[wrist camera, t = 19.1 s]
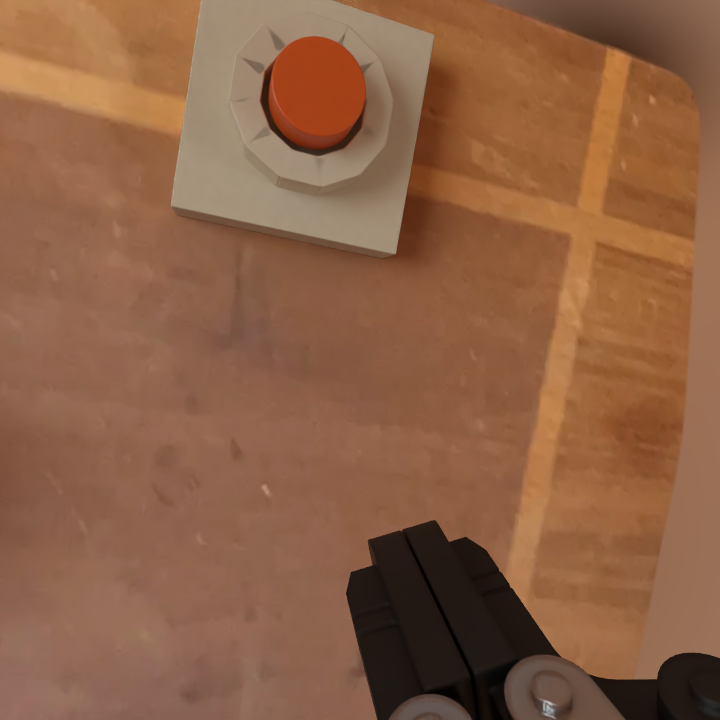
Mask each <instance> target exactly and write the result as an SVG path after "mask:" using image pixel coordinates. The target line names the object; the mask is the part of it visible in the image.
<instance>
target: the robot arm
mask: <svg viewBox="0 0 720 720" xmlns="http://www.w3.org/2000/svg"><path fill="white" fill-rule="evenodd" d="M368 545H369V550H370V555H371V560H372V565H373V566H370V567H366V568H363V569H360V570H357V571H353V572H351V575H350V579H349V583H348V587H347V592H346V596H347V600H348V604H349V608H350V612H351V617H352V621H353V625H354V629H355V633H356V638H357V642H358V646H359V650H360V654H361V658H362V662H363V666H364V670H365V673H366V677H367V681H368V685H369V689H370V693H371V697H372V701H373V704H374V708H375V712H376V716H377V720H720V658H717V657H714V656H711V655H707V654H701V653H682V654H678V655H675V656H673V657H670V658H669V659H668V660H666V661H665V662H664V663H663V664H662V666H661V667H660V670H659V672H658V677H657V680H656V679H649V680H615V679H605V678H599V677H596V676H592V675H589V674H587V673H586V672H585V671H584V670H583V669H581V668H580V667H579V666H577V665H576V664H574V663H572V662H571V661H568V660H566V659H564V658H562V657H561V656H560V655H559V654H558V653H557V652H556V651H555V649H554V648H553V647H552V645H551V644H550V642H549V641H548V640H547V638H546V637H545V635H544V634H543V632H542V631H541V629H540V628H539V626H538V625H537V624H536V622H535V621H534V619H533V618H532V616H531V615H530V613H529V612H528V611H527V609H526V608H525V606H524V605H523V603H522V602H521V600H520V599H519V597H518V596H517V595H516V593H515V592H514V590H513V589H512V588H510V585H509V583H508V581H507V580H506V579H505V577H504V576H503V574H502V573H501V572H500V571H499V568H498V567H497V565H496V564H495V563H494V561H493V560H492V558H491V557H490V555H489V554H488V552H487V551H486V550H485V549H484V548H482V547H481V546H479V545H477V544H476V543H474V542H473V541H471V540H470V539H468V538H467V537H464V538H461V539H457V540H454V541H451V542H449V541H448V540H447V538H446V536H445V535H444V533H443V531H442V530H441V528H440V526H439V525H438V523H437V522H436V521H435V520H433V521H429V522H426V523H423V524H419V525H416V526H413V527H409V528H406V529H403V530H402V532H401V531H396V532H393V533H390V534H386V535H383V536H379V537H376V538H373V539H369V540H368Z"/></svg>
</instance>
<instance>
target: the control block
mask: <svg viewBox="0 0 720 720" xmlns="http://www.w3.org/2000/svg"><path fill="white" fill-rule="evenodd" d="M308 36H319V37H325V38H328V39H331V40H334V41H335V42H337V43H339V44H341V45H342V46H343V47H345V48H346V49H347V50H348V51H349V52H350V53H351V54H352V55H353V56H354V58H355V59H356V61H357V62H358V64H359V66H360V68H361V70H362V73H363V76H364V80H365V86H366V98H365V104H364V108H363V110H362V113H361V115H360V117H359V118H358V120H357V121H356V123H355V124H354V126H353V127H352V129H351V130H350V132H349V133H348V135H347V136H346V137H345V138H344V139H343V140H342V141H341V142H339V143H338V144H336V145H334V146H332V147H329V148H325V149H318V150H317V149H308V148H304V147H301V146H299V145H297V144H295V143H293V142H292V141H290V140H289V139H288V138H286V137H285V136H284V135H283V134H282V133H281V131H280V130H279V129H278V127H277V126H276V124H275V122H274V120H273V118H272V116H271V112H270V109H269V100H268V96H269V87H270V81H271V74H272V70H273V66H274V63H275V61H276V59H277V57H278V55H279V54H280V53H281V51H282V50H283V49H284V48H285V47H286V46H287V45H289V44H290V43H291V42H293V41H295V40H297V39H300V38H303V37H308ZM434 37H435V36H434V34H431V33H428V32H425V31H422V30H419V29H416V28H413V27H410V26H407V25H404V24H401V23H398V22H395V21H392V20H389V19H386V18H383V17H380V16H377V15H374V14H371V13H368V12H365V11H362V10H359V9H356V8H353V7H350V6H348V5H345V4H342V3H339V2H336V1H333V0H201V4H200V11H199V17H198V24H197V31H196V38H195V44H194V51H193V58H192V65H191V71H190V78H189V85H188V92H187V98H186V105H185V112H184V119H183V125H182V132H181V139H180V146H179V152H178V159H177V166H176V172H175V179H174V186H173V193H172V199H171V207H172V208H173V210H174V211H175V213H176V214H177V215H179V216H184V217H189V218H194V219H198V220H203V221H208V222H212V223H217V224H222V225H227V226H231V227H236V228H241V229H245V230H250V231H255V232H260V233H264V234H269V235H274V236H278V237H283V238H288V239H293V240H297V241H302V242H307V243H311V244H316V245H321V246H325V247H330V248H335V249H340V250H344V251H349V252H354V253H358V254H363V255H368V256H373V257H377V258H386V257H389V256H392V255H395V254H396V251H397V245H398V240H399V234H400V228H401V223H402V217H403V211H404V206H405V200H406V194H407V189H408V183H409V178H410V172H411V166H412V161H413V155H414V149H415V144H416V138H417V132H418V127H419V121H420V116H421V110H422V104H423V99H424V93H425V87H426V82H427V76H428V70H429V65H430V59H431V54H432V48H433V42H434Z"/></svg>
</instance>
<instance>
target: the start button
mask: <svg viewBox="0 0 720 720" xmlns="http://www.w3.org/2000/svg"><path fill="white" fill-rule="evenodd" d="M365 98H366V86H365V80H364V76H363V73H362V70H361V68H360V66H359V64H358V62H357V61H356V59H355V58H354V56H353V55H352V54H351V53H350V52H349V51H348V50H347V49H346V48H345V47H343V46H342V45H341V44H339V43H337V42H335V41H334V40H331V39H328V38H325V37H319V36H308V37H303V38H300V39H297V40H295V41H293V42H291V43H290V44H289V45H287V46H286V47H285V48H284V49H283V50H282V51H281V53H280V54H279V55H278V57H277V59H276V61H275V63H274V66H273V70H272V74H271V81H270V87H269V96H268V100H269V109H270V112H271V116H272V118H273V120H274V122H275V124H276V126H277V127H278V129H279V130H280V131H281V133H282V134H283V135H284V136H285V137H286V138H288V139H289V140H290V141H292V142H293V143H295V144H297V145H299V146H301V147H304V148H308V149H317V150H318V149H325V148H329V147H332V146H334V145H336V144H338V143H339V142H341V141H342V140H343V139H344V138H345V137H346V136H347V135H348V133H349V132H350V130H351V129H352V127H353V126H354V124H355V123H356V121H357V120H358V118H359V117H360V115H361V113H362V110H363V108H364V104H365Z"/></svg>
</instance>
